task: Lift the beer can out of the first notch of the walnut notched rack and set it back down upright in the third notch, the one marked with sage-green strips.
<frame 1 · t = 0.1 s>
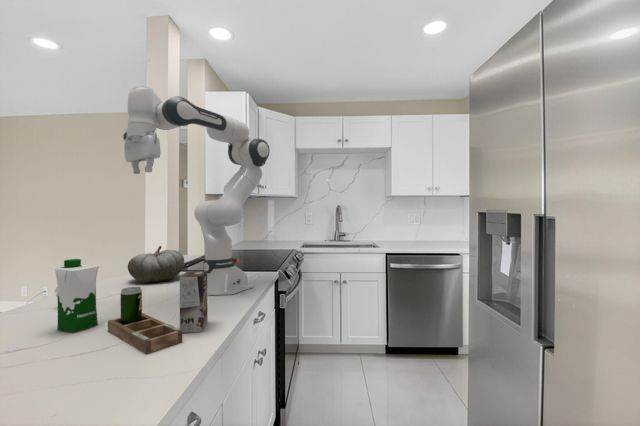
hand: (142, 173, 115), 48 cm above the worktop, fingers open, 8 cm apart
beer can: (131, 330, 95), resting in notched rack
coffee box: (194, 327, 97), on the worktop
notched rack: (143, 336, 90), on the worktop
elephant figurine: (75, 307, 118), on the worktop
milk carton: (78, 328, 97), on the worktop
gourd: (156, 280, 161), on the worktop
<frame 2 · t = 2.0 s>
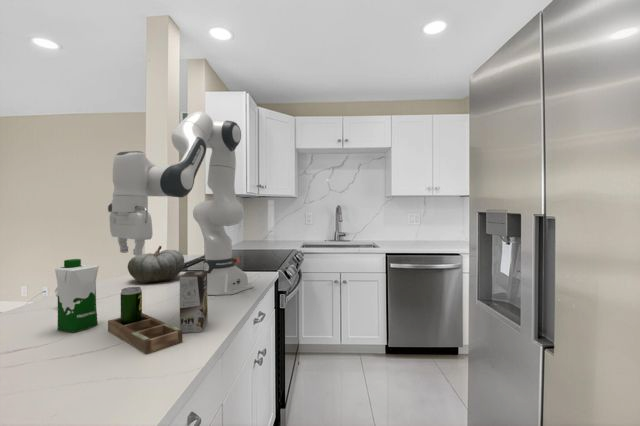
hand: (130, 254, 94), 22 cm above the worktop, fingers open, 8 cm apart
nothing on the worktop moved.
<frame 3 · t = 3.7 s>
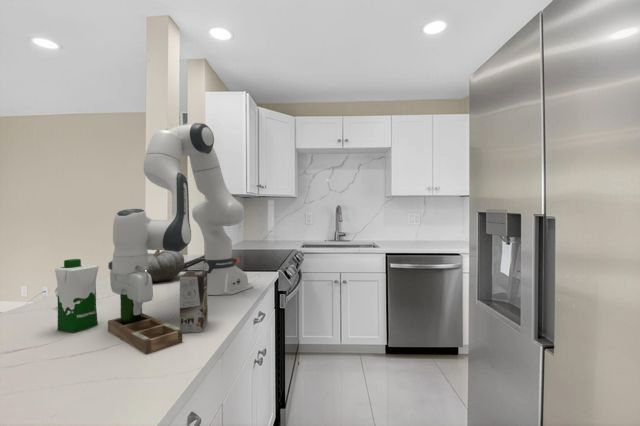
hand: (131, 312, 95), 5 cm above the worktop, fingers closed on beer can, 5 cm apart
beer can: (131, 330, 95), resting in notched rack, touching gripper
everything else where it was.
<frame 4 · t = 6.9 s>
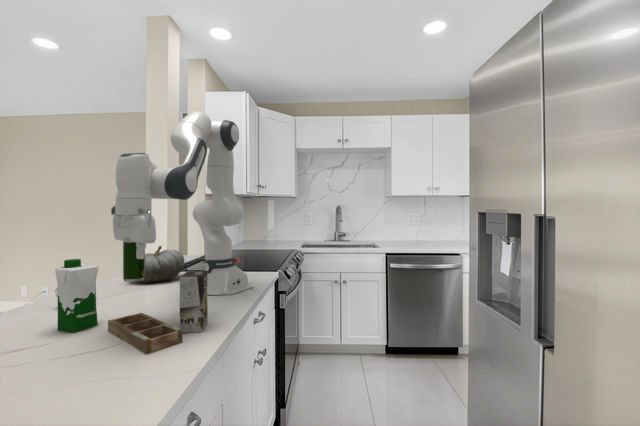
hand: (134, 257, 93), 21 cm above the worktop, fingers closed on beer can, 5 cm apart
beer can: (134, 280, 93), point 15 cm above the worktop, touching gripper
everything else where it was.
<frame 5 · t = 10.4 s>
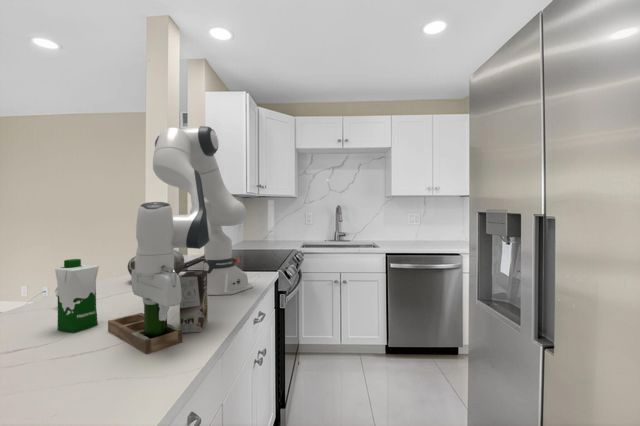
hand: (155, 317, 85), 7 cm above the worktop, fingers closed on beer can, 5 cm apart
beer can: (156, 344, 85), resting in notched rack, touching gripper
everything else where it was.
when the fingers open (7 cm above the worktop, at t = 10.9 s): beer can stays where it is, resting in notched rack.
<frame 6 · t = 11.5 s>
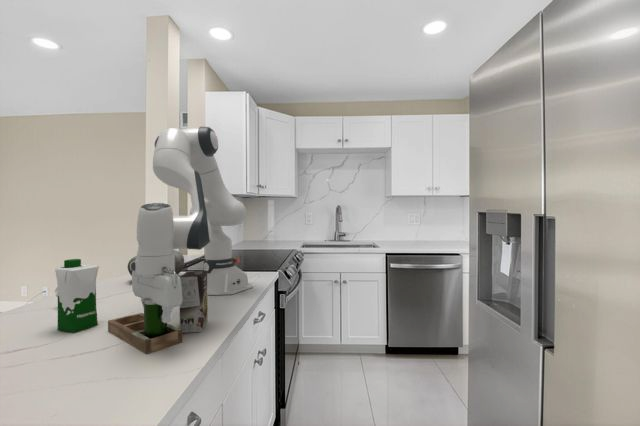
hand: (156, 318, 85), 7 cm above the worktop, fingers open, 8 cm apart
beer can: (155, 344, 85), resting in notched rack
everything else where it was.
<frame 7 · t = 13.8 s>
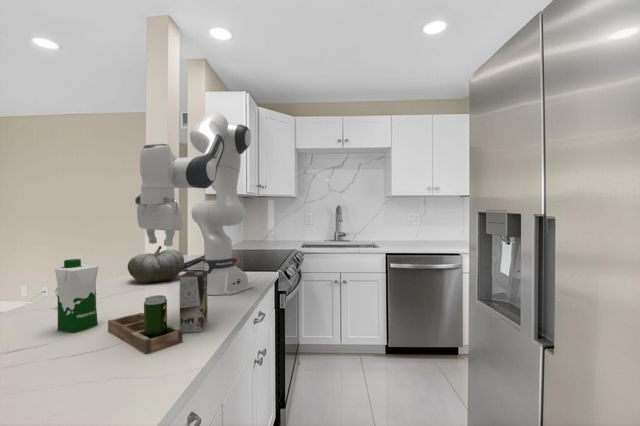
hand: (160, 244, 97), 25 cm above the worktop, fingers open, 8 cm apart
nothing on the worktop moved.
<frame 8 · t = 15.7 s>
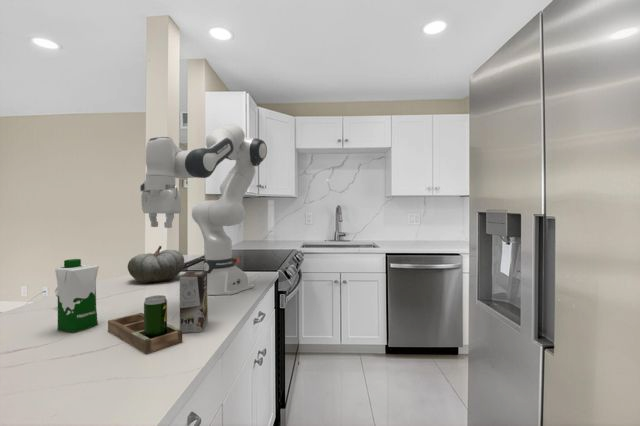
hand: (161, 227, 108), 29 cm above the worktop, fingers open, 8 cm apart
nothing on the worktop moved.
at the end: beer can 0.2 cm from the target spot on the notched rack, point 0.0 cm above the notched rack's base; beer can tilted 0°; the gripper is holding nothing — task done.
